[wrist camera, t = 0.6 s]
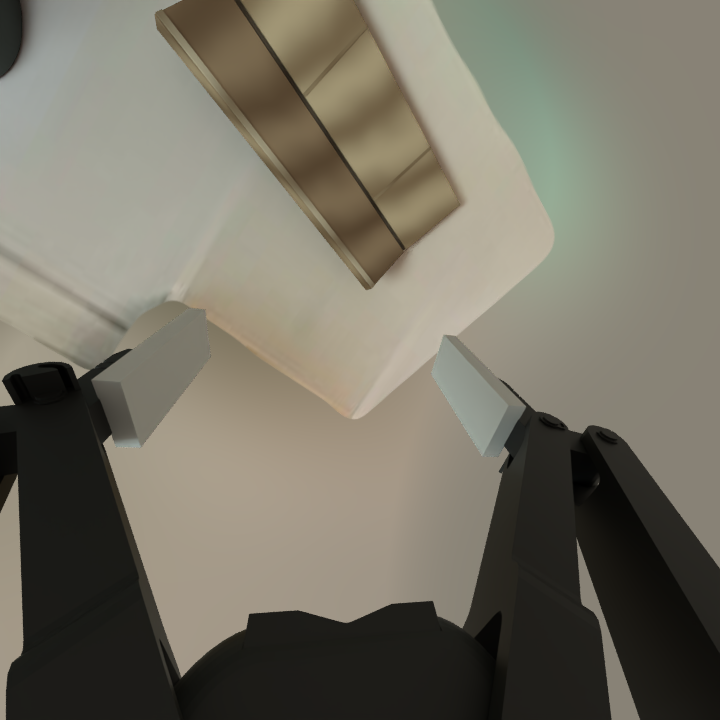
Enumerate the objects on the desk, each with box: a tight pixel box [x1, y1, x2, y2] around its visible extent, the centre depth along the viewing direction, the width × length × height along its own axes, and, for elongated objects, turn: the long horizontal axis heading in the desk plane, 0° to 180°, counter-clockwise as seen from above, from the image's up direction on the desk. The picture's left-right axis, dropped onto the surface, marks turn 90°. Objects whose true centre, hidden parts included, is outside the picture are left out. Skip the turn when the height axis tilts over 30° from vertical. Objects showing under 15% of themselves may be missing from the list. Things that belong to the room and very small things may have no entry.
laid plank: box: [235, 0, 460, 250], centre depth 29 cm, size 28×8×1 cm, turn 39°
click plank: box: [155, 0, 403, 290], centre depth 29 cm, size 28×7×1 cm
